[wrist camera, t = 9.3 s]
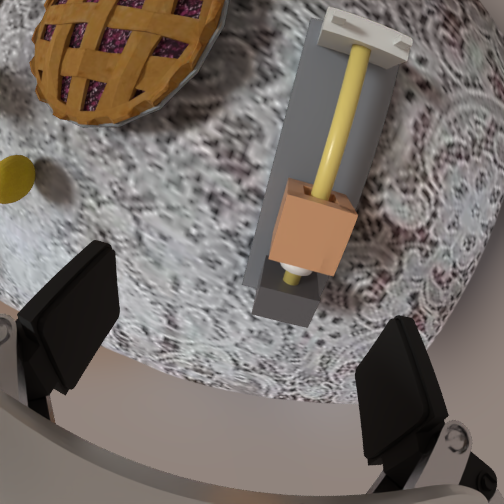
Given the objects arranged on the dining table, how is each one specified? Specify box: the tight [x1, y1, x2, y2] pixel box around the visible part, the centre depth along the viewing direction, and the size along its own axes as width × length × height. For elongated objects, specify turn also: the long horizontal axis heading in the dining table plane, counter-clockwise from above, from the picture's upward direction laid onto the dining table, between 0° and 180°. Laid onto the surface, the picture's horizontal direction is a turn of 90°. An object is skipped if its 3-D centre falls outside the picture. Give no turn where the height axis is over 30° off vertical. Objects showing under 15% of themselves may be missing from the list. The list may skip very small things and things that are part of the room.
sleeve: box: [269, 178, 358, 276], centre depth 22 cm, size 5×5×5 cm
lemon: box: [0, 155, 35, 204], centre depth 23 cm, size 6×6×8 cm
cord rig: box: [242, 6, 413, 328], centre depth 20 cm, size 26×8×7 cm, turn 167°
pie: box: [29, 0, 229, 128], centre depth 16 cm, size 22×22×5 cm
